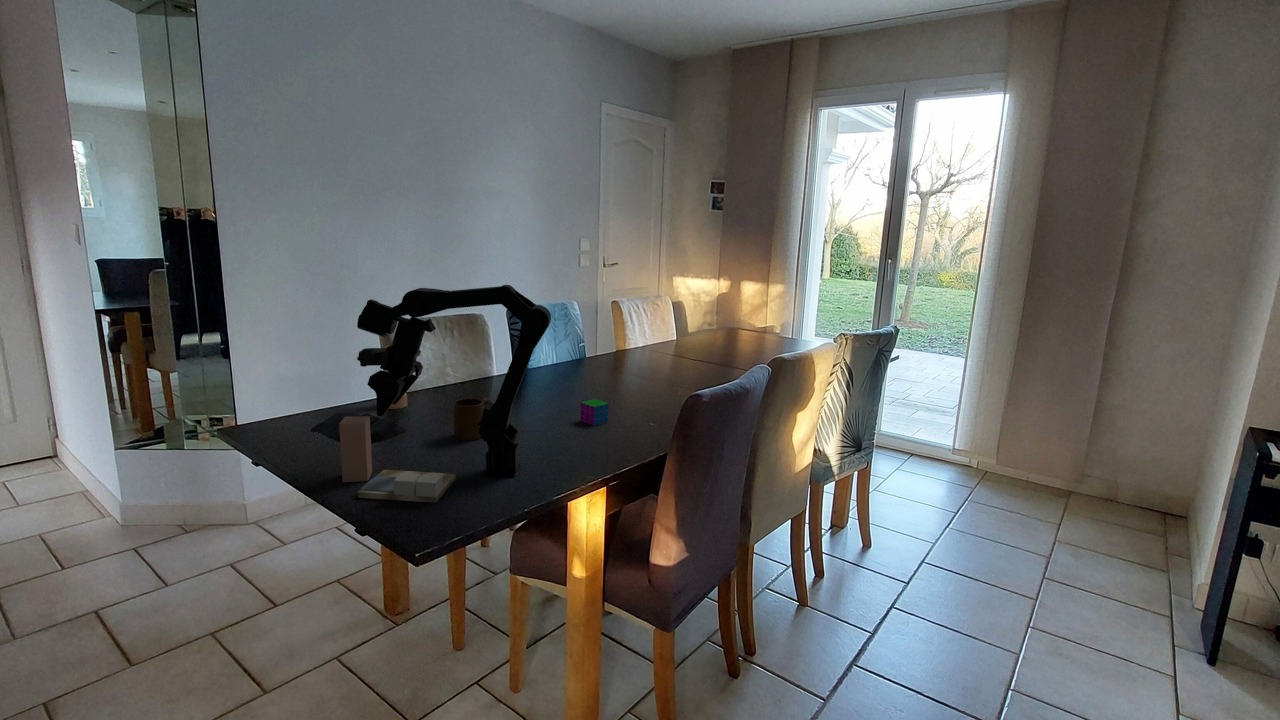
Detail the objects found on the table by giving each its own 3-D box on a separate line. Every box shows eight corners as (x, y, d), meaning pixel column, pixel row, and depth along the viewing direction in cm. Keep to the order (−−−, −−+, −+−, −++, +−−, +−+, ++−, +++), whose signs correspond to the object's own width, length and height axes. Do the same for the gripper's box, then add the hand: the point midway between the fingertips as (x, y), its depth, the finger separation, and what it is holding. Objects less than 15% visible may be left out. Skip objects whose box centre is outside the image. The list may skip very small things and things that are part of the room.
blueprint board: (455, 479, 137) (455, 473, 137) (435, 502, 126) (435, 496, 125) (384, 474, 138) (384, 468, 138) (357, 497, 126) (357, 491, 126)
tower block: (372, 472, 139) (369, 416, 136) (367, 481, 134) (364, 423, 132) (348, 473, 138) (344, 416, 135) (342, 482, 133) (339, 423, 130)
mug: (479, 425, 174) (479, 393, 172) (501, 431, 170) (501, 397, 168) (447, 437, 163) (447, 402, 161) (469, 443, 160) (469, 407, 158)
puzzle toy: (608, 422, 183) (608, 403, 181) (594, 426, 178) (594, 406, 177) (594, 417, 186) (594, 399, 185) (580, 421, 182) (580, 402, 181)
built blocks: (442, 489, 129) (442, 475, 129) (435, 497, 125) (435, 483, 125) (402, 486, 130) (402, 472, 129) (394, 494, 126) (393, 480, 125)
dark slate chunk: (356, 418, 177) (355, 402, 176) (410, 433, 166) (410, 416, 165) (305, 432, 164) (304, 415, 163) (360, 450, 153) (359, 431, 152)
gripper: (384, 325, 143) (366, 387, 146) (352, 339, 125) (332, 410, 128) (431, 341, 145) (412, 402, 148) (407, 357, 127) (386, 427, 129)
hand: (386, 409), depth 138 cm, fingers open, 9 cm apart
